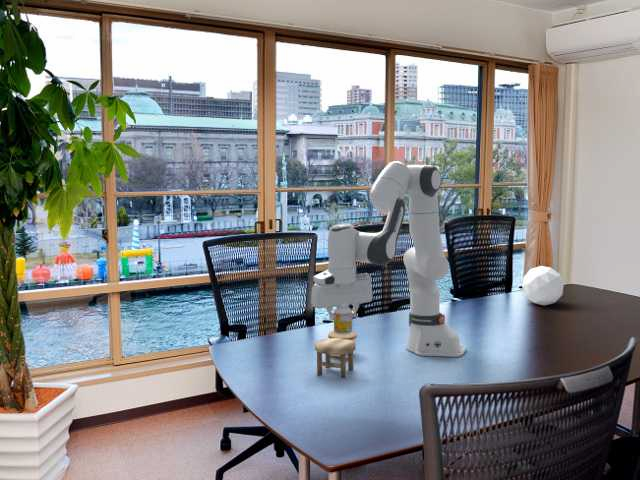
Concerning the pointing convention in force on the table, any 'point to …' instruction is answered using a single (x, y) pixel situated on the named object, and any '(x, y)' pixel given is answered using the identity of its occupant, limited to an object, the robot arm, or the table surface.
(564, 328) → the table surface
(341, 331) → the supplement bottle
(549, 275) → the geometric polyhedron
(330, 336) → the lidded jar
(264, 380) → the table surface
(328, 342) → the stool
